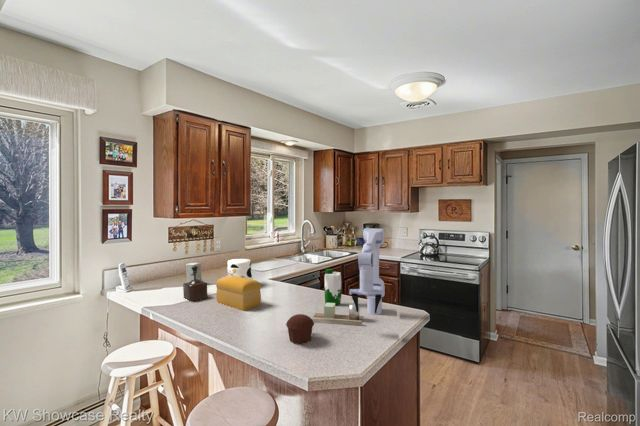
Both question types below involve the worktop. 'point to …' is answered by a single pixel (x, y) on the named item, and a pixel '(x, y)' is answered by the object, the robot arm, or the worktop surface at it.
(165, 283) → the worktop surface
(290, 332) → the muffin
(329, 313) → the tea box
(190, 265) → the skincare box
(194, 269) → the pepper mill
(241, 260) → the milk container
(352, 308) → the metal can
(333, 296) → the milk carton
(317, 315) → the shelf board
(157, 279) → the worktop surface
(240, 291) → the bread
